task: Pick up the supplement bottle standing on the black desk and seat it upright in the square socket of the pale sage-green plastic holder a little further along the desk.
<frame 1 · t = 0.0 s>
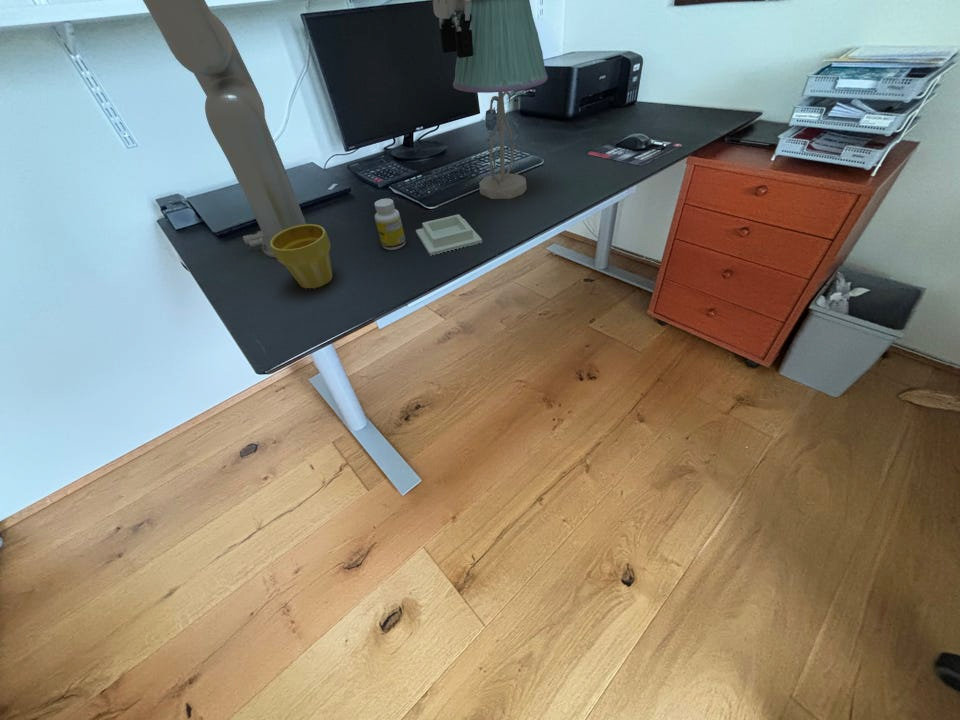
hand: (457, 54, 83), 31 cm above the table, tool pointing down, fingers open, 9 cm apart
plant pot: (316, 281, 83), on the table
table lamp: (503, 190, 110), on the table
supplement bottle: (394, 245, 91), on the table
socket holder: (448, 237, 92), on the table
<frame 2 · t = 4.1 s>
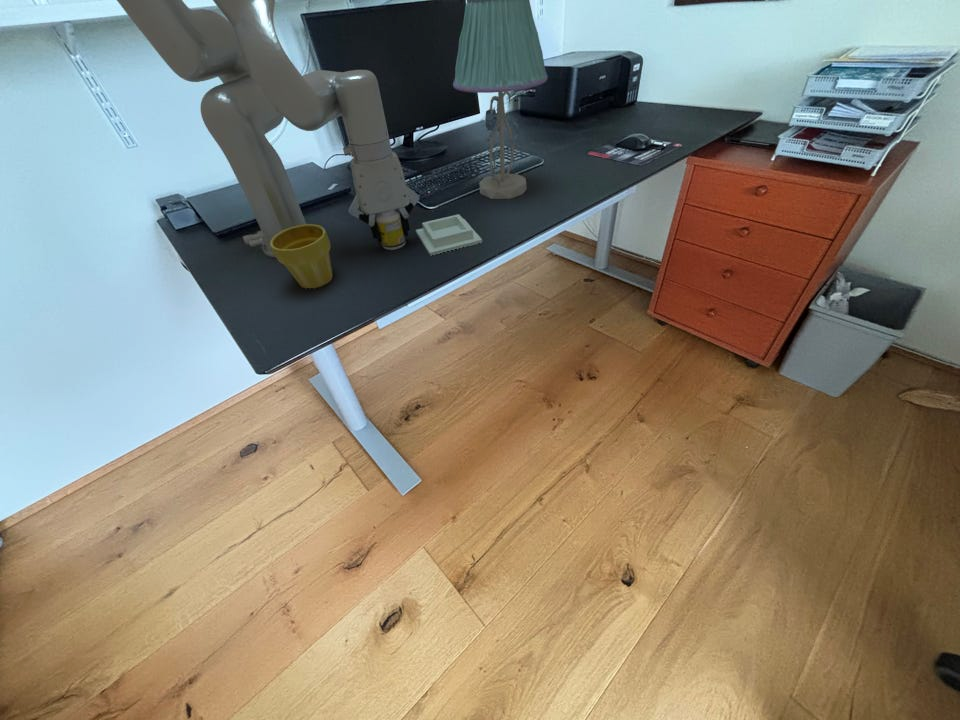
hand: (392, 236, 90), 2 cm above the table, tool pointing down, fingers closed on supplement bottle, 5 cm apart
supplement bottle: (394, 245, 91), on the table, touching gripper
everything else where it was.
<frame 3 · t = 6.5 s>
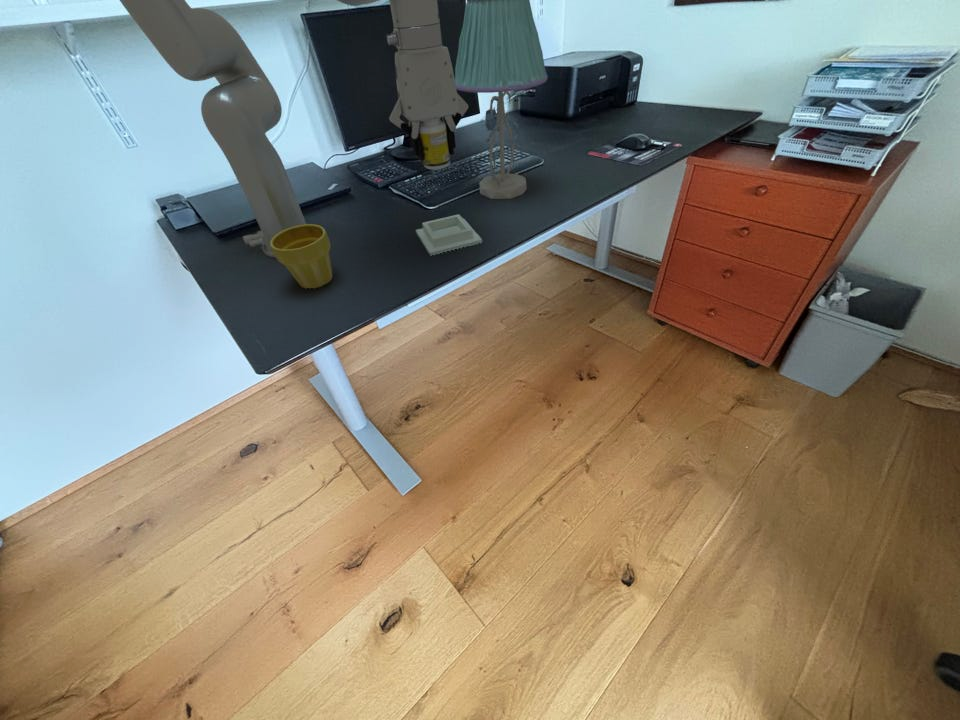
hand: (435, 154, 79), 18 cm above the table, tool pointing down, fingers closed on supplement bottle, 5 cm apart
supplement bottle: (437, 166, 81), point 16 cm above the table, touching gripper
everything else where it was.
when the fingers open (4 cm above the table, at t = 9.4 s): supplement bottle drops 2 cm, resting on socket holder.
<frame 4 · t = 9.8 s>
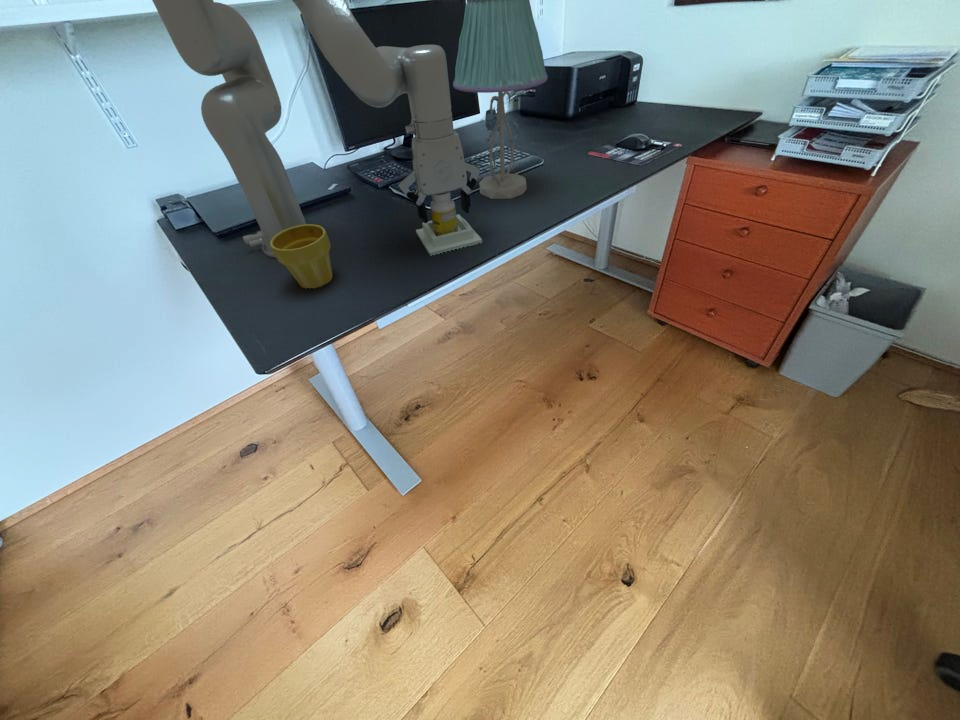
hand: (445, 215, 88), 5 cm above the table, tool pointing down, fingers open, 9 cm apart
supplement bottle: (446, 235, 91), point 1 cm above the table, touching socket holder
everything else where it was.
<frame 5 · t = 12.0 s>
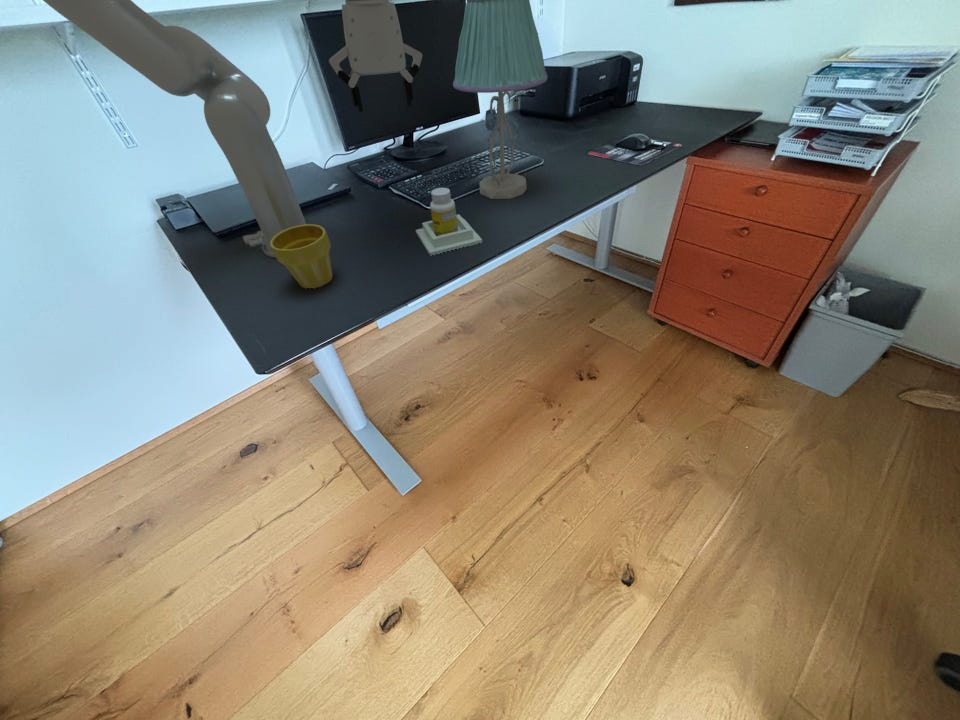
hand: (384, 107, 81), 25 cm above the table, tool pointing down, fingers open, 9 cm apart
nothing on the table moved.
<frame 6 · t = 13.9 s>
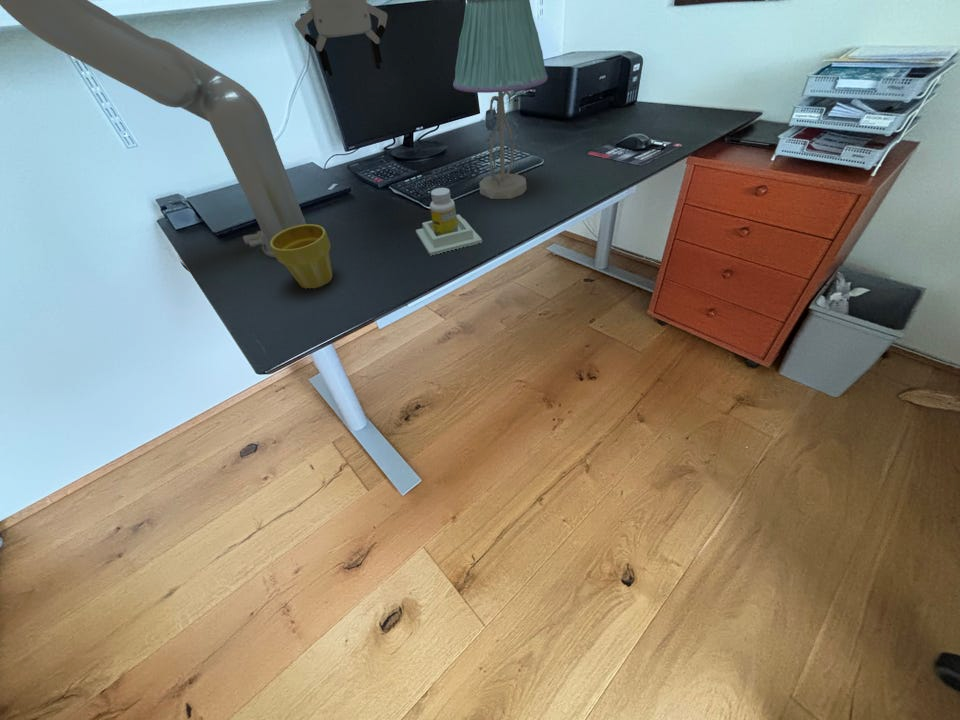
hand: (354, 71, 82), 30 cm above the table, tool pointing down, fingers open, 9 cm apart
nothing on the table moved.
at the end: supplement bottle 0.3 cm off-centre on the socket holder, point 0.6 cm above the socket holder's base; supplement bottle tilted 0°; the gripper is holding nothing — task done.
